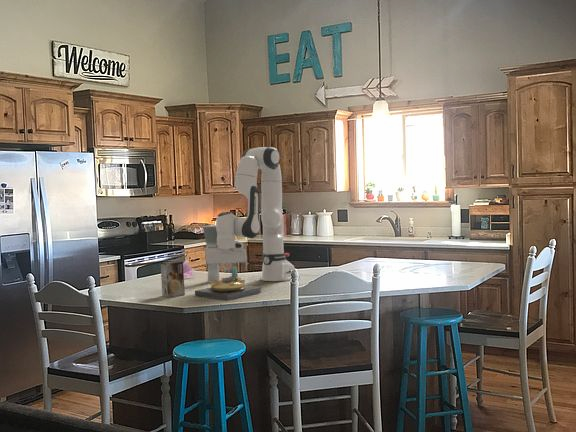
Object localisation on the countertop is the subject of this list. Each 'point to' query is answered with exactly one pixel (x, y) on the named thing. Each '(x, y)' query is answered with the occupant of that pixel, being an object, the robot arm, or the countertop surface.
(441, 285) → the countertop surface
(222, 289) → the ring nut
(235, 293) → the dark grey square slab
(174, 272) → the coffee box
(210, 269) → the container
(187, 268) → the lily
